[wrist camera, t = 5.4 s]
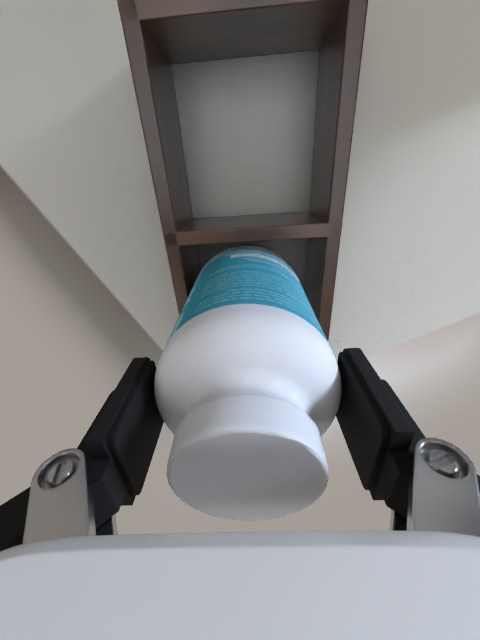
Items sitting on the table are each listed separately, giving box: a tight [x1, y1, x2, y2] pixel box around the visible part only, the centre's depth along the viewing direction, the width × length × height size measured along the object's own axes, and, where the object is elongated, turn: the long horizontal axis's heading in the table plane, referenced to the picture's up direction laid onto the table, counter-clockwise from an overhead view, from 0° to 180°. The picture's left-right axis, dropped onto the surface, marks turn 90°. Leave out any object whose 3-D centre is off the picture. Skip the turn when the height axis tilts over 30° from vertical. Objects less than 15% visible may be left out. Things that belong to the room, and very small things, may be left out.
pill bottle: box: [154, 245, 342, 521], centre depth 13 cm, size 8×7×14 cm
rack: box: [117, 0, 368, 341], centre depth 17 cm, size 10×19×5 cm, turn 4°
